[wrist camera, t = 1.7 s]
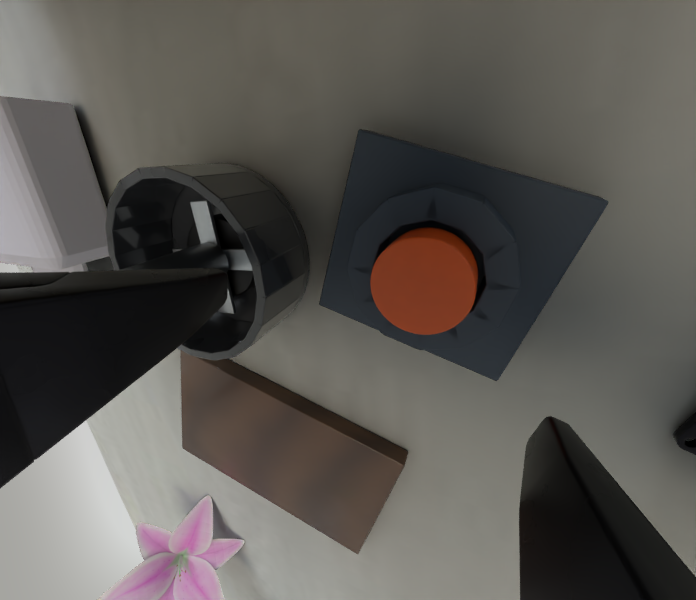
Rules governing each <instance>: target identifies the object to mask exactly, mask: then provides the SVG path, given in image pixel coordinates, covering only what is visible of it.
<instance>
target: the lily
mask: <svg viewBox="0 0 696 600" xmlns="http://www.w3.org/2000/svg"><path fill="white" fill-rule="evenodd" d="M136 535H137V540H138V544H139V548H140V552H141V554H142V557H143V559H144V560H145V561H143V562H142V563H141V564H139V565H138V566H137V567H135V568H134V569H133V570H132V571H130V572H129V573H128V574H127V575H126V576H124V577H123V578H122V579H120V580H119V581H118V582H117V583H115V584H114V585H113V586H112V587H111V588H109V589H108V590H107V591H106V592H105V593H104V594H102V595H101V597H99V598H98V599H97V600H224V596H223V592H222V589H221V585H220V581H219V578H218V576H217V573H216V571H215V570H217V569H218V568H219V567H221V566H222V565H223V564H225V563H226V562H227V561H228V560H229V559H230V558H231V557H233V556H234V555H235V554H236V553H237V552H238V551H239V550H240V548H241V547H242V546H243V545H244V542H245V541H244V540H241V539H212V537H213V504H212V499H211V497H210V496H209V495H208V496H205V497H204V498H203V499H202V500H201V501H199V503H198V504H197V505H196V506H195V507H194V508H193V509H192V510H191V511H190V513H189V514H188V515H187V516H186V517H185V518H184V520H183V521H182V522H181V523H180V524H179V525H178V526H177V528H176V529H175V530H174V532H173V533H172V532H170V531H168V530H165V529H163V528H160V527H157V526H154V525H151V524H147V523H143V522H139V523H137V525H136Z"/></svg>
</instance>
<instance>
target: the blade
mask: <svg viewBox="0 0 696 600" xmlns="http://www.w3.org/2000/svg"><path fill="white" fill-rule="evenodd" d="M190 204H191V208H192V212H193V216H194V220H195V224H194V225H193V226H192V228H191V230H190V232H189V235H188V242H187V245H188V248H174V249H172V251H173V253H171V254H168V255H165V256H161V257H158V258H155V259H152V260H149V261H146V262H143V263H140V264H137V265H134V266H131V267H128V268H124V269H121V270H148V269H184V268H217V269H219V270H222V271H224V272H226V273H227V275H228V294H227V300H226V302H225V304H224V305H223V306H222V307H221V308H220V309H219V310H218V311H219V312H223V313H232V314H234V313H236V308H235V304H234V300H233V296H236V295H239V294H242V293H243V292H245V291H247V290H249V289H250V288H252V287H254V286H255V282H254V276H253V271H252V266H251V263H250V261H249V259H248V257H247V254H246V252H245V250H244V248H243V246H242V243H241V241H240V239H239V237H238V235H237V233H236V232H235V231H234V229H233V228H232V227H231V225H230V224H229V223H228V222H227V220H226V219H225V218H224V216H223V215H222V214H216V215H213V213H212V208H211V204H210V202H209V201H208V200H204V201H191V202H190Z"/></svg>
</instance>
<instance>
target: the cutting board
mask: <svg viewBox="0 0 696 600" xmlns="http://www.w3.org/2000/svg"><path fill="white" fill-rule="evenodd" d="M181 396H182V448H183V449H185V450H186V451H188V452H190V453H191V454H193V455H195V456H196V457H198V458H199V459H201V460H203V461H204V462H206V463H208V464H209V465H211V466H213V467H214V468H216V469H218V470H219V471H221V472H223V473H224V474H226V475H228V476H229V477H231V478H232V479H234V480H236V481H237V482H239V483H241V484H242V485H244V486H246V487H247V488H249V489H251V490H252V491H254V492H256V493H257V494H259V495H261V496H262V497H264V498H266V499H267V500H269V501H270V502H272V503H274V504H275V505H277V506H279V507H280V508H282V509H284V510H285V511H287V512H289V513H290V514H292V515H294V516H295V517H297V518H299V519H300V520H302V521H303V522H305V523H307V524H308V525H310V526H312V527H313V528H315V529H317V530H318V531H320V532H322V533H323V534H325V535H327V536H328V537H330V538H332V539H333V540H335V541H337V542H338V543H340V544H341V545H343V546H345V547H346V548H348V549H350V550H351V551H353V552H355V553H356V554H358V553H359V551H360V549H361V547H362V545H363V544H364V542H365V540H366V538H367V536H368V534H369V532H370V530H371V528H372V526H373V525H374V523H375V521H376V519H377V517H378V515H379V513H380V511H381V509H382V507H383V506H384V504H385V502H386V500H387V498H388V496H389V494H390V492H391V490H392V488H393V487H394V485H395V483H396V481H397V479H398V477H399V475H400V473H401V471H402V469H403V468H404V466H405V462H406V459H407V455H408V451H406V450H404V449H403V448H401V447H399V446H397V445H395V444H393V443H391V442H389V441H387V440H385V439H383V438H381V437H379V436H377V435H375V434H373V433H371V432H369V431H367V430H365V429H363V428H361V427H359V426H357V425H355V424H353V423H352V422H350V421H348V420H346V419H344V418H342V417H340V416H338V415H336V414H334V413H332V412H330V411H328V410H326V409H324V408H322V407H320V406H318V405H316V404H314V403H312V402H310V401H308V400H306V399H304V398H302V397H301V396H299V395H297V394H295V393H293V392H291V391H289V390H287V389H285V388H283V387H281V386H279V385H277V384H275V383H273V382H271V381H269V380H267V379H265V378H263V377H261V376H259V375H257V374H255V373H253V372H251V371H249V370H248V369H246V368H244V367H242V366H240V365H238V364H236V363H234V362H232V361H230V360H228V359H221V360H209V359H204V358H199V357H195V356H191V355H189V354H187V353H185V352H184V351H182V350H181Z"/></svg>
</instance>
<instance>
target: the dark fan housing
mask: <svg viewBox="0 0 696 600" xmlns="http://www.w3.org/2000/svg"><path fill="white" fill-rule="evenodd" d="M204 200H208V201H209V202H210V204H211V208H212V213H213V215H216V214H222V215H223V216H224V218H225V219H226V220H227V222H228V223H229V224H230V225H231V227H232V228H233V229H234V231H235V232H236V233H237V235H238V237H239V239H240V241H241V243H242V246H243V248H244V250H245V252H246V254H247V257H248V259H249V261H250V263H251V266H252V271H253V276H254V282H255V286H254V287H252V288H250V289H249V290H247V291H245V292H243V293H242V294H239V295H236V296H233V300H234V304H235V308H236V313H234V314H232V313H223V312H219V311H217V312H216V313H215V314H214V315H213V316H212V317H211V318H210V319H209V320H208V321H207V322H206V323H205V324H204V325H202V326H201V327H200V328H199V329H198V330H197V331H196V332H195V333H194V334H193V335H192V336H191V337H190V338H189V339H188V340H186V341H185V342H184V343H183V344H181V345H180V346H179V347H178V349H180V350H182V351H184V352H185V353H187V354H189V355H191V356H195V357H199V358H204V359H209V360H221V359H227V358H233V357H236V356H237V355H239V354H240V353H242V352H243V351H244V350H246V349H247V348H249V347H250V346H252V345H253V344H254V343H255V342H256V341H258V340H259V339H260V338H261V337H263V336H264V335H265V334H266V333H268V332H269V331H270V330H271V329H272V328H274V327H275V326H276V325H277V324H279V323H280V322H281V321H282V320H284V319H285V318H286V317H287V316H288V315H289V314H290V313H291V312H292V311H293V310H294V309H295V308H296V307H297V305H298V304H299V302H300V301H301V299H302V297H303V294H304V292H305V289H306V286H307V282H308V276H309V254H308V247H307V243H306V239H305V235H304V232H303V230H302V227H301V224H300V222H299V220H298V218H297V216H296V214H295V212H294V211H293V209H292V207H291V206H290V204H289V203H288V202H287V200H286V199H285V198H284V196H283V195H282V194H281V193H280V192H279V191H278V190H277V189H276V188H275V187H274V186H273V185H272V184H271V183H270V182H269V181H267V180H266V179H265V178H263V177H262V176H260V175H259V174H257V173H255V172H254V171H252V170H249V169H247V168H245V167H242V166H238V165H235V164H227V163H212V164H192V165H173V166H156V167H142V168H138V169H137V170H135V171H134V172H132V173H130V174H129V175H127V176H126V177H124V178H123V179H121V180H120V181H119V183H118V185H117V186H116V188H115V190H114V192H113V194H112V196H111V198H110V199H109V202H108V208H107V216H106V223H105V230H106V237H107V245H108V253H109V256H110V259H111V262H112V265H113V268H114V270H121V269H124V268H128V267H131V266H134V265H137V264H140V263H143V262H146V261H149V260H152V259H155V258H158V257H161V256H165V255H168V254H171V253H173V251H172V249H174V248H188V245H187V242H188V235H189V232H190V230H191V228H192V226H193V225H194V224H195V220H194V216H193V212H192V208H191V204H190V202H191V201H204Z"/></svg>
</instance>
